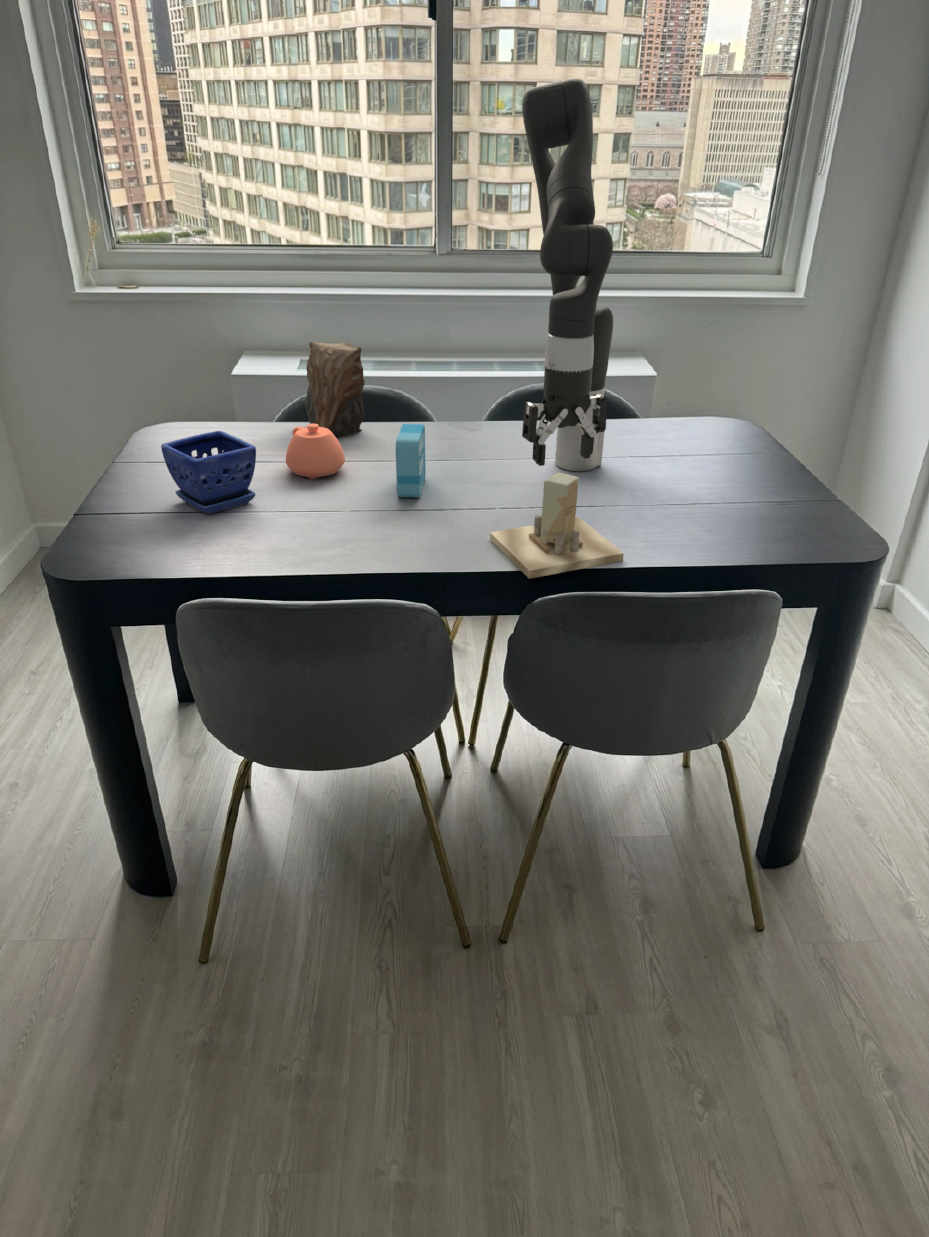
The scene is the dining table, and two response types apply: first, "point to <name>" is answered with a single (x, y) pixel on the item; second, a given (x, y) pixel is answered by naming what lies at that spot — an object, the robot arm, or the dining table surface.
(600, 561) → the tray
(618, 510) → the dining table surface
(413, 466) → the data package
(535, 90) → the robot arm
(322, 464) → the sugar bowl
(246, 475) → the flower pot
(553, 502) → the box
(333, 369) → the owl
